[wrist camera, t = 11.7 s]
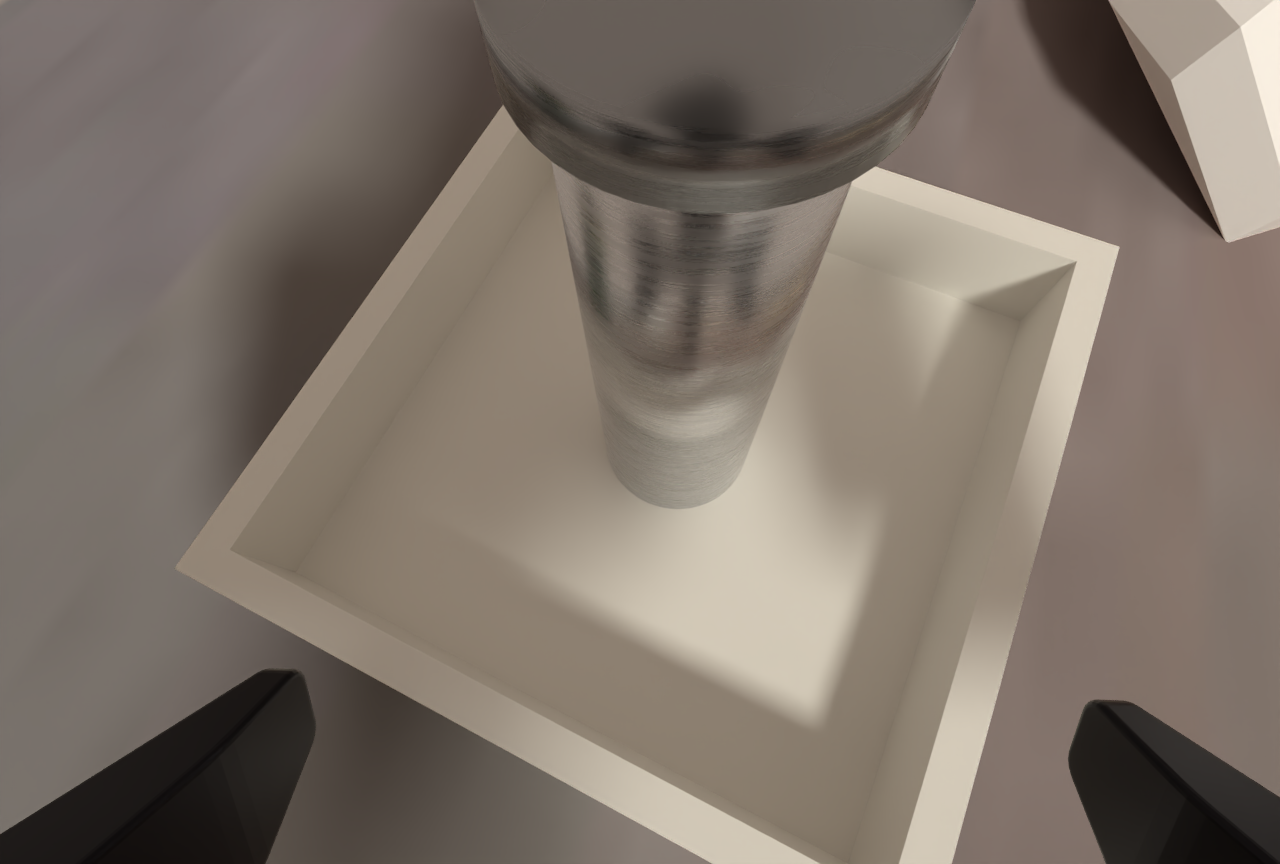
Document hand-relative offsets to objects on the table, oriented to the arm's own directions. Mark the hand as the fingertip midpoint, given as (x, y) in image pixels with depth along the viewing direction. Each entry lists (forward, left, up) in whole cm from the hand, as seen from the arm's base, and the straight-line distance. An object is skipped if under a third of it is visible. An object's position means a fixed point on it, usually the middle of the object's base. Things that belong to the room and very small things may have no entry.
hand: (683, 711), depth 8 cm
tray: (+6, +3, -9) cm, 11 cm away
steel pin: (+6, +3, -8) cm, 10 cm away
